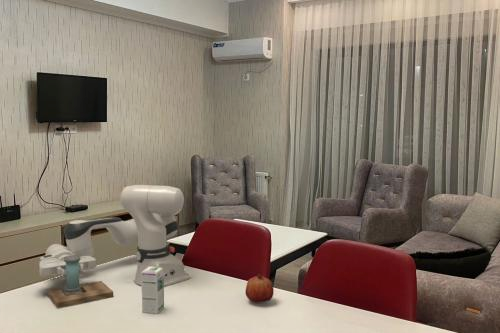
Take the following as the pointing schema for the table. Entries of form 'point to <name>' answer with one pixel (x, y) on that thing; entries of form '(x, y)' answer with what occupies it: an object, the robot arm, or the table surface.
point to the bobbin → (72, 273)
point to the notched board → (81, 295)
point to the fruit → (259, 289)
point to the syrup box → (152, 290)
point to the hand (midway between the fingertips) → (73, 271)
